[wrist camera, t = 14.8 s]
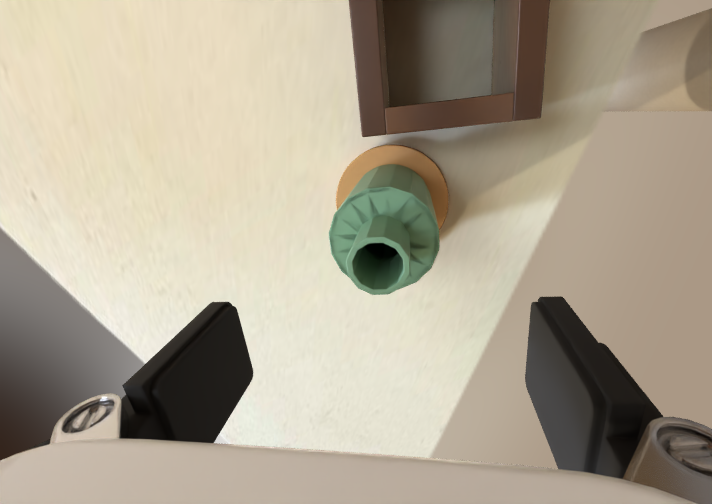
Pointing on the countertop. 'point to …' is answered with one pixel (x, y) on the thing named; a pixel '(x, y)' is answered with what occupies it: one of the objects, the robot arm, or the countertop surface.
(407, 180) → the bottle
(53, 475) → the robot arm
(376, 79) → the rack
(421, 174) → the coaster
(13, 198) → the countertop surface
